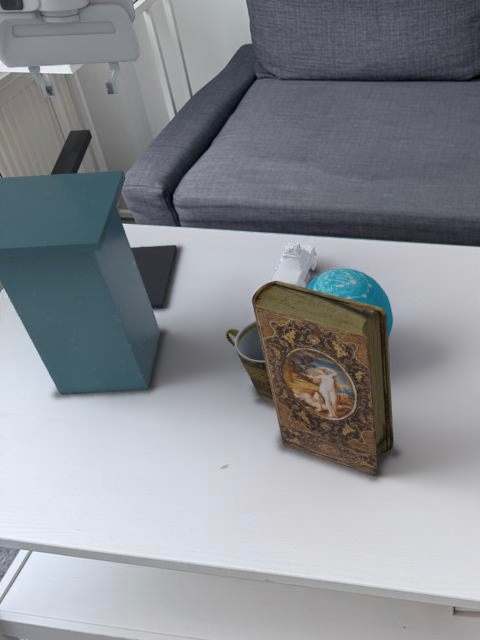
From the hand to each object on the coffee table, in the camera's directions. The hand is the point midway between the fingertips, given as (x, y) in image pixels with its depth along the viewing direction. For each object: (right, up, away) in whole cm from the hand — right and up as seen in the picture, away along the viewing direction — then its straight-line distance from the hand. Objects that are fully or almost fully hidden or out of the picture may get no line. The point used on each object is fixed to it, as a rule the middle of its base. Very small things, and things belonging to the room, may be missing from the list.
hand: (81, 94), depth 117 cm
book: (+40, -56, -8) cm, 70 cm away
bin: (+3, -41, +5) cm, 41 cm away
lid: (+1, -20, -11) cm, 23 cm away
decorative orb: (+42, -41, +4) cm, 58 cm away
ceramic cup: (+30, -46, 0) cm, 55 cm away
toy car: (+32, -24, +17) cm, 43 cm away
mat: (+2, -23, +19) cm, 30 cm away
